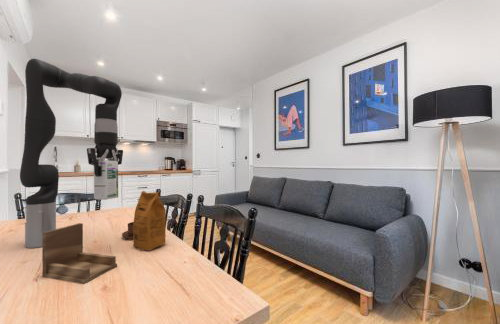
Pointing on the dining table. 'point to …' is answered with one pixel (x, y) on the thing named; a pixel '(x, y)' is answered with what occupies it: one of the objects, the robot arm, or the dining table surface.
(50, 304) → the dining table surface
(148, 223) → the coffee package
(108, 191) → the syrup box
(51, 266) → the small wooden shelf
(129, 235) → the cup and saucer
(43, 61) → the robot arm
